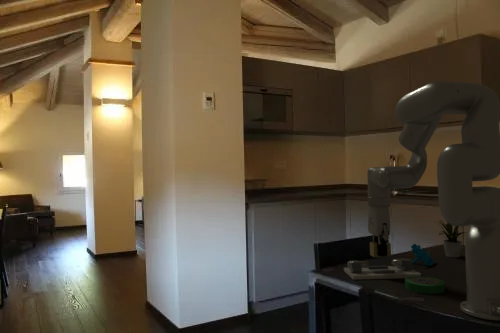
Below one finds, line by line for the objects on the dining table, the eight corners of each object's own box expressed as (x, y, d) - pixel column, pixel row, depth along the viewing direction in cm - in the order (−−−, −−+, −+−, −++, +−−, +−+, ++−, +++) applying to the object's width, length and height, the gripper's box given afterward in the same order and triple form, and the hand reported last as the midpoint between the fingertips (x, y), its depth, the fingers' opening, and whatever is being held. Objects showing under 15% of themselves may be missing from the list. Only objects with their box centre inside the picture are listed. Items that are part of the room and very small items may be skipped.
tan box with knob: (373, 257, 139) (373, 243, 139) (370, 254, 143) (369, 241, 143) (391, 256, 139) (390, 242, 139) (386, 254, 143) (386, 240, 143)
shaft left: (366, 269, 143) (366, 259, 143) (370, 272, 139) (370, 262, 139) (346, 270, 143) (346, 260, 143) (350, 273, 138) (349, 263, 139)
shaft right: (397, 271, 139) (397, 261, 139) (389, 268, 143) (389, 259, 143) (414, 269, 141) (414, 260, 141) (406, 267, 145) (406, 257, 145)
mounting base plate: (421, 277, 135) (421, 271, 135) (353, 279, 135) (353, 273, 135) (406, 269, 147) (406, 263, 147) (343, 270, 147) (343, 265, 147)
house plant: (423, 254, 171) (422, 216, 171) (444, 251, 178) (443, 214, 178) (454, 261, 159) (453, 219, 159) (476, 256, 165) (474, 216, 165)
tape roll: (449, 288, 124) (448, 279, 124) (438, 297, 115) (438, 287, 115) (412, 282, 131) (411, 274, 131) (399, 290, 123) (399, 281, 123)
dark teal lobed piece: (426, 264, 147) (409, 242, 153) (415, 274, 150) (398, 252, 156) (440, 263, 154) (423, 242, 160) (429, 273, 157) (413, 252, 163)
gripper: (361, 200, 150) (362, 250, 150) (376, 204, 133) (377, 260, 133) (381, 200, 150) (382, 249, 150) (399, 204, 133) (400, 259, 133)
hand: (380, 254), depth 141 cm, fingers closed on tan box with knob, 4 cm apart
